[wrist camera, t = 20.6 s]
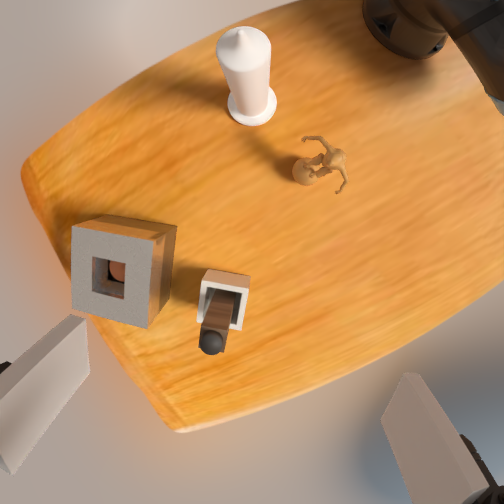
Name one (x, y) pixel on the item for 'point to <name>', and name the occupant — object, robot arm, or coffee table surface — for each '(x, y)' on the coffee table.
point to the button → (117, 270)
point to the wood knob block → (217, 322)
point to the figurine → (309, 170)
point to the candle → (247, 74)
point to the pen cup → (224, 282)
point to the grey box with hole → (136, 269)
